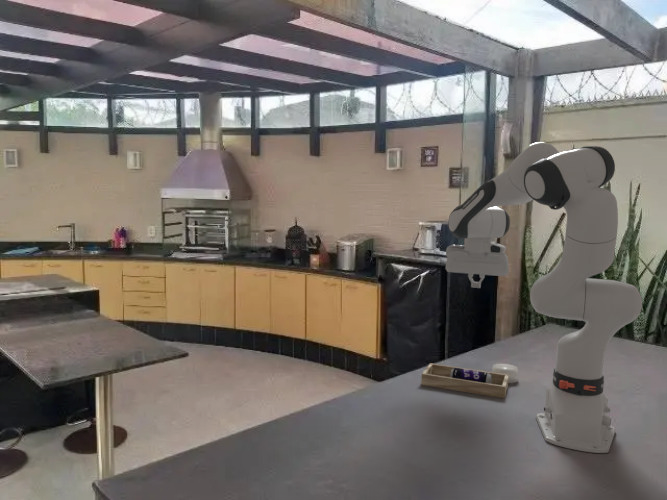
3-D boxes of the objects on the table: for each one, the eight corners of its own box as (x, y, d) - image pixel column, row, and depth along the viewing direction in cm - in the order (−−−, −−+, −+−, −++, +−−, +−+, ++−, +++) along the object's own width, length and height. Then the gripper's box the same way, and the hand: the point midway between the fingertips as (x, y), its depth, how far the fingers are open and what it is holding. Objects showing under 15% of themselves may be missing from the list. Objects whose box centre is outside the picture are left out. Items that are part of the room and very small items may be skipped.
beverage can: (454, 370, 168) (492, 376, 163) (451, 387, 166) (490, 394, 161) (451, 364, 163) (491, 370, 159) (448, 382, 161) (488, 389, 156)
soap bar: (516, 385, 166) (517, 373, 166) (490, 381, 170) (491, 369, 169) (518, 377, 174) (519, 365, 173) (493, 373, 177) (494, 362, 176)
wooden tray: (504, 398, 155) (505, 387, 154) (421, 384, 164) (421, 374, 164) (508, 385, 166) (508, 374, 165) (429, 373, 175) (430, 363, 175)
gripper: (444, 244, 174) (442, 286, 175) (509, 248, 166) (506, 291, 167) (448, 243, 180) (446, 283, 181) (510, 247, 172) (508, 288, 173)
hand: (475, 287), depth 174 cm, fingers closed
